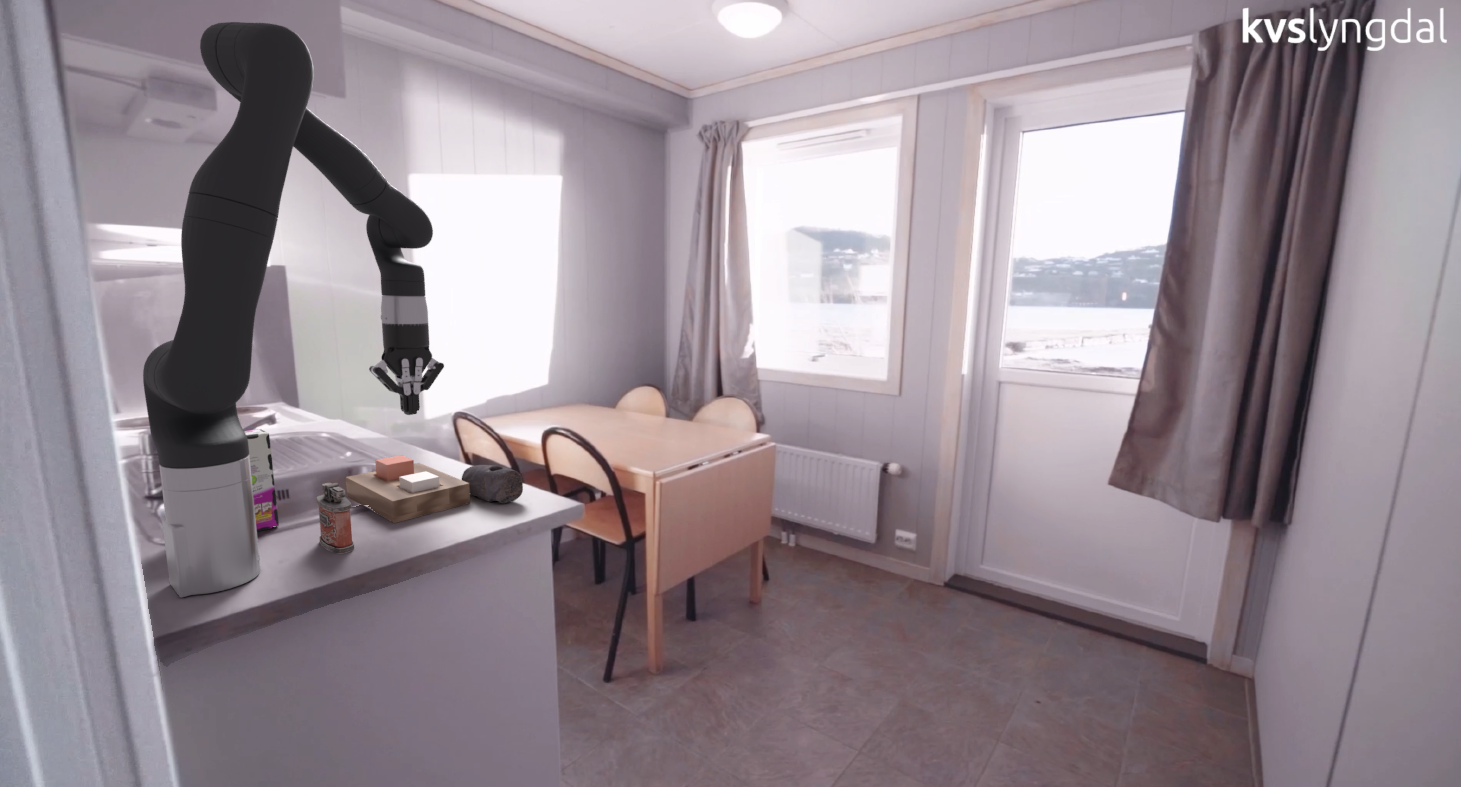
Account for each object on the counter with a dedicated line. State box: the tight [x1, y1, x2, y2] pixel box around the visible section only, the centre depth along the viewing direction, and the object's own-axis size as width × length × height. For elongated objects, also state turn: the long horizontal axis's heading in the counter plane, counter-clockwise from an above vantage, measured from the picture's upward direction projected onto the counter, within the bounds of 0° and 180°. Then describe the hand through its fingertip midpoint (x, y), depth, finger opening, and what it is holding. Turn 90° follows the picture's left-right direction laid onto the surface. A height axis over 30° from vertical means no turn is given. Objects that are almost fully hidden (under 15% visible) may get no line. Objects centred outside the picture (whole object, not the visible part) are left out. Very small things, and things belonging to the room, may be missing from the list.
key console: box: [345, 462, 471, 524], centre depth 118 cm, size 14×20×4 cm
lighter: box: [315, 482, 355, 555], centre depth 96 cm, size 8×3×10 cm, turn 53°
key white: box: [399, 471, 440, 493], centre depth 115 cm, size 5×5×4 cm
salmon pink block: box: [375, 455, 415, 481], centre depth 121 cm, size 5×5×4 cm
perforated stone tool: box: [461, 464, 524, 504], centre depth 120 cm, size 15×5×7 cm, turn 60°
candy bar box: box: [244, 428, 280, 533], centre depth 99 cm, size 11×5×16 cm, turn 143°
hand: (410, 413), depth 115 cm, fingers closed
